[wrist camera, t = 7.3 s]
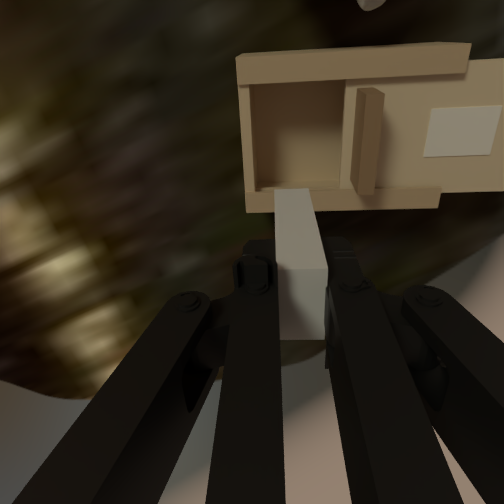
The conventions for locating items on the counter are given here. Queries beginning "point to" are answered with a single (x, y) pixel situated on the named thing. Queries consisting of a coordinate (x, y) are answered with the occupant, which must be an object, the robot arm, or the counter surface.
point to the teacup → (370, 4)
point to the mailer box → (322, 119)
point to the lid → (425, 131)
